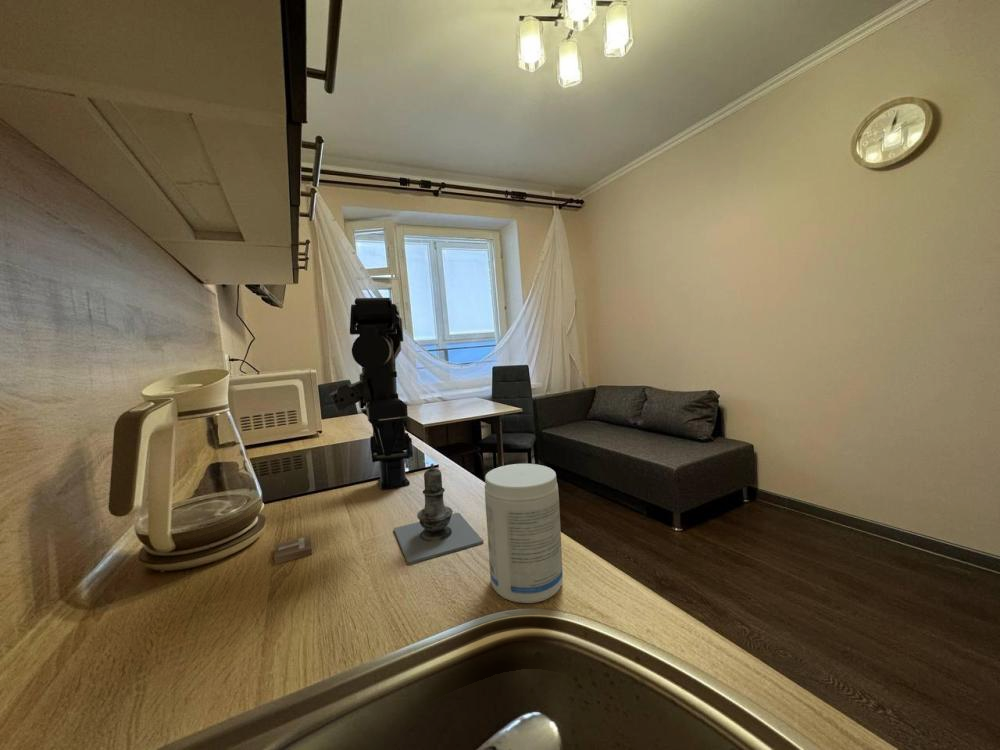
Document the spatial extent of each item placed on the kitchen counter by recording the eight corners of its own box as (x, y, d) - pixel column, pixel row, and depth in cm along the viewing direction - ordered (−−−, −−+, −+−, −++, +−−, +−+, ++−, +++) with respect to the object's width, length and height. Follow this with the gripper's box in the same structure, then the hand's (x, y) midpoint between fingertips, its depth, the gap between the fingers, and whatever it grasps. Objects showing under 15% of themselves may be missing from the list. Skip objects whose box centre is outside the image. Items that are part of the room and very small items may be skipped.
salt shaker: (449, 542, 59) (444, 469, 59) (413, 542, 60) (408, 469, 59) (457, 525, 65) (453, 458, 64) (424, 525, 66) (420, 458, 65)
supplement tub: (574, 573, 51) (570, 468, 50) (543, 618, 43) (538, 492, 42) (512, 555, 56) (508, 459, 55) (475, 591, 48) (469, 479, 47)
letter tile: (276, 552, 61) (275, 542, 61) (310, 543, 63) (309, 534, 63) (275, 567, 56) (274, 557, 56) (312, 557, 59) (311, 547, 59)
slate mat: (393, 530, 65) (393, 528, 65) (458, 514, 71) (458, 512, 70) (408, 564, 55) (407, 562, 55) (483, 543, 60) (483, 540, 60)
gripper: (329, 368, 74) (335, 445, 75) (331, 371, 57) (339, 471, 58) (387, 364, 79) (392, 437, 80) (405, 366, 62) (411, 459, 63)
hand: (383, 449), depth 70 cm, fingers open, 9 cm apart
